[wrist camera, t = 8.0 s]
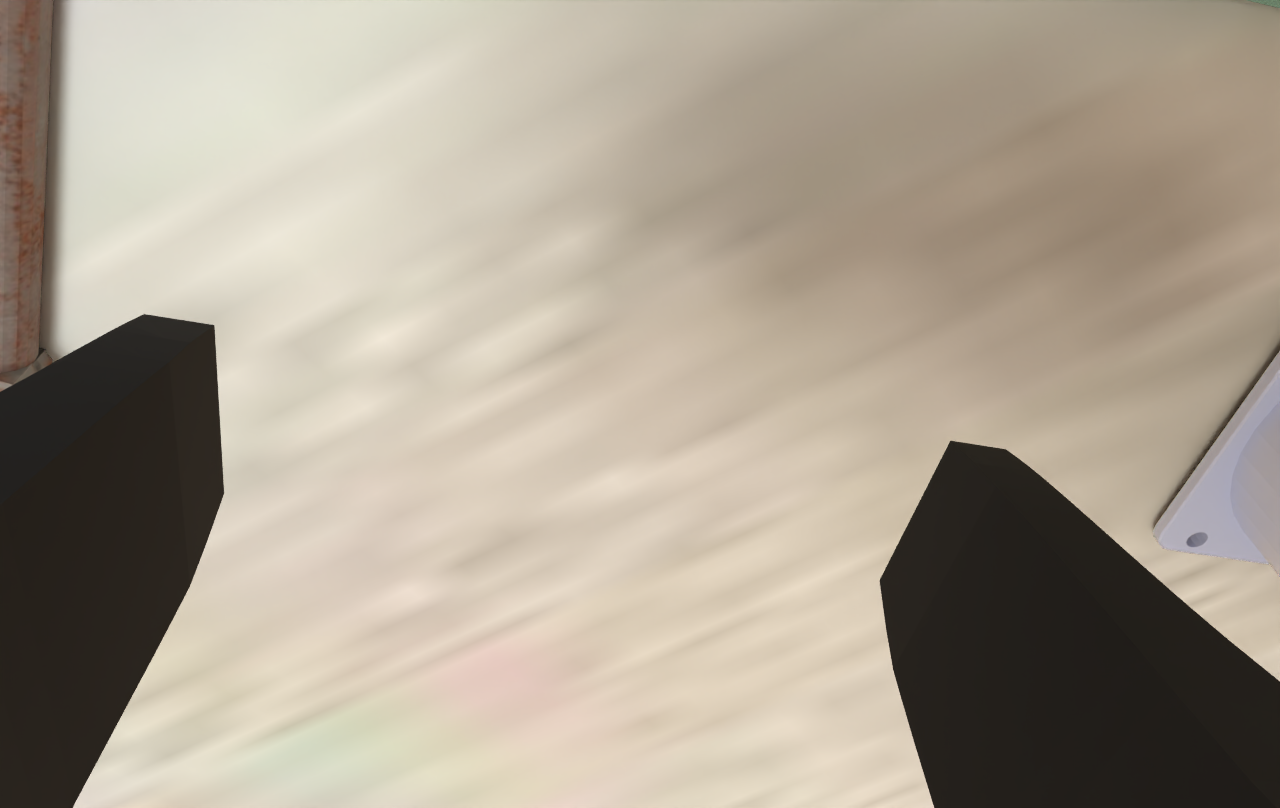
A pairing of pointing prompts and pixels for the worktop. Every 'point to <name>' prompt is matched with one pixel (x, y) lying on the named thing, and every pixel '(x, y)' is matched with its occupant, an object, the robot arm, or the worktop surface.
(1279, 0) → the board
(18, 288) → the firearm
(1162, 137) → the worktop surface
